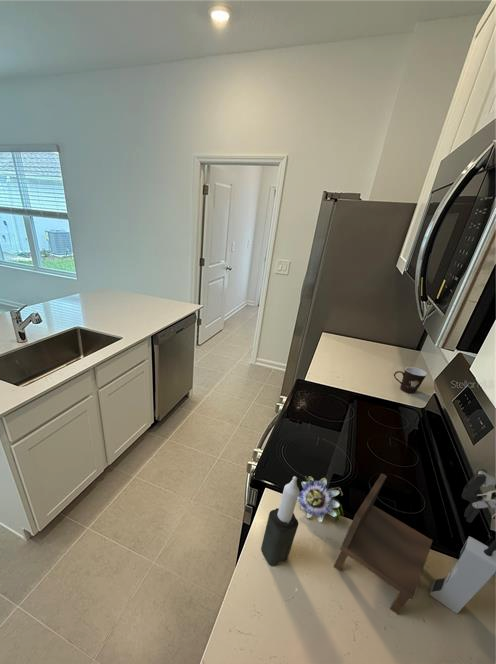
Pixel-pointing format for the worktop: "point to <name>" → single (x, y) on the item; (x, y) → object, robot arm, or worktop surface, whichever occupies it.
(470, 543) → the vintage mobile phone
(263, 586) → the worktop surface
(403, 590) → the shelf
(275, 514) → the candle
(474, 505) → the robot arm
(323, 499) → the passion flower
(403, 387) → the coffee mug
